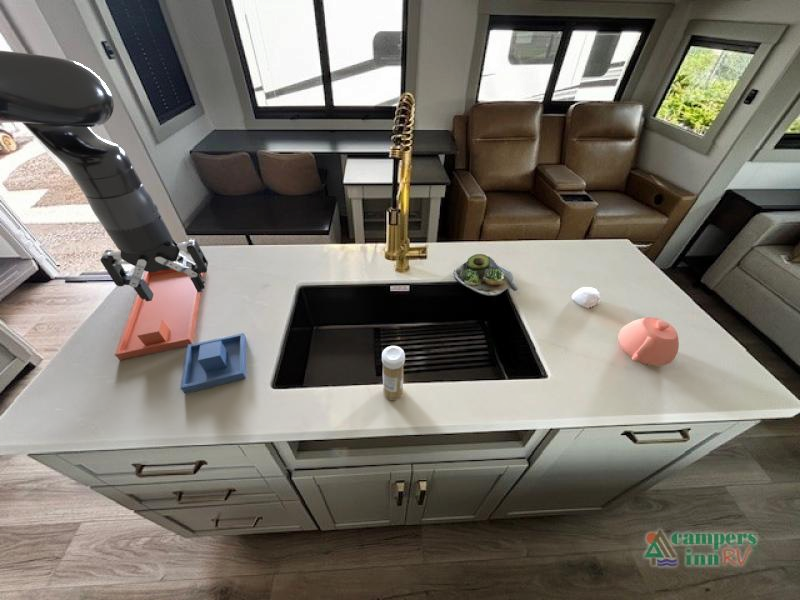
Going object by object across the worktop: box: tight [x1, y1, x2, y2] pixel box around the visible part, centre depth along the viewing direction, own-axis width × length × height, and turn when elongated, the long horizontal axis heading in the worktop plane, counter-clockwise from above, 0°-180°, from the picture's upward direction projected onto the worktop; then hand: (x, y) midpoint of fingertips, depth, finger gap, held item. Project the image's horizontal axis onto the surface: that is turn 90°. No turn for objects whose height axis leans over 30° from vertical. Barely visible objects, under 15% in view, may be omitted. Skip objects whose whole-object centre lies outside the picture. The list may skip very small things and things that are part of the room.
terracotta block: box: [137, 319, 170, 346], centre depth 79 cm, size 4×4×4 cm
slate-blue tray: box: [180, 332, 247, 394], centre depth 76 cm, size 13×13×2 cm
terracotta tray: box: [114, 262, 205, 361], centre depth 89 cm, size 16×34×2 cm, turn 19°
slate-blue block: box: [198, 341, 228, 372], centre depth 74 cm, size 4×4×4 cm
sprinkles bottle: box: [381, 345, 406, 401], centre depth 68 cm, size 5×5×14 cm
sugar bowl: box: [617, 316, 680, 366], centre depth 79 cm, size 12×14×10 cm
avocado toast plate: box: [453, 253, 519, 297], centre depth 101 cm, size 19×18×5 cm
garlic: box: [571, 286, 601, 309], centre depth 95 cm, size 8×7×4 cm
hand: (176, 293), depth 61 cm, fingers open, 8 cm apart
